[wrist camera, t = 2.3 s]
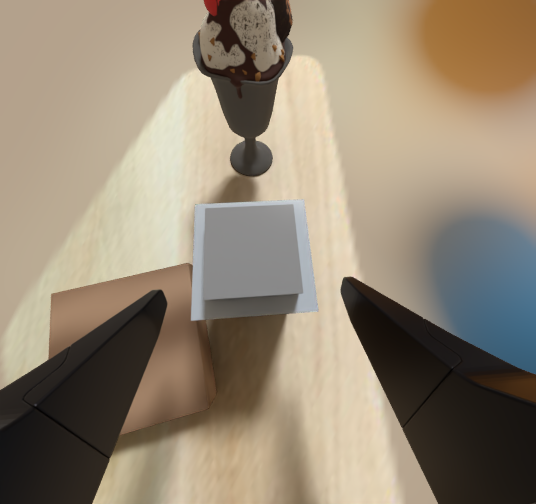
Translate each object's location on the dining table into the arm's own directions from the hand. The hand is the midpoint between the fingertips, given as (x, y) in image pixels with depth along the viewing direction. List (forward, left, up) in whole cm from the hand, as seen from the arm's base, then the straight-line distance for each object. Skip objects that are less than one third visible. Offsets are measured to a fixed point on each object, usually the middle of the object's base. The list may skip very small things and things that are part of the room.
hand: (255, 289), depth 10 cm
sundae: (+16, -3, -9) cm, 18 cm away
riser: (-1, +11, -10) cm, 14 cm away
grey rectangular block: (+2, 0, -9) cm, 9 cm away
